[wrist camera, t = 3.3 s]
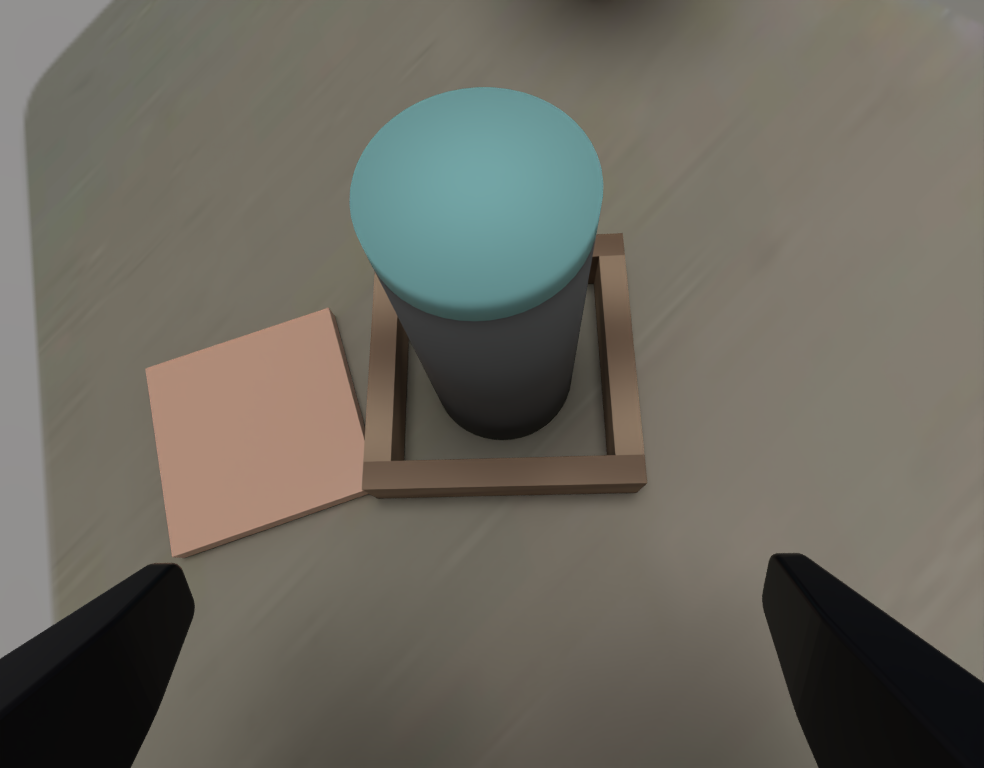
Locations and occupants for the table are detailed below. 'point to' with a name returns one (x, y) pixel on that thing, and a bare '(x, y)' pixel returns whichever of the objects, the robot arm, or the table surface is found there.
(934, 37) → the table surface
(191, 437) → the coaster
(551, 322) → the teal-capped grey cylinder
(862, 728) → the robot arm
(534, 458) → the open square brown frame
